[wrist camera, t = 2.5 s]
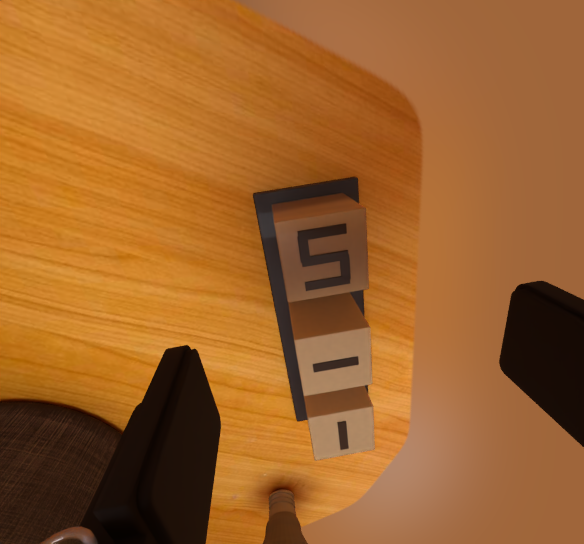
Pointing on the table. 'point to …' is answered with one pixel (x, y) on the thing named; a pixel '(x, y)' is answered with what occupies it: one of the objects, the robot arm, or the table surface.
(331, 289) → the letter s block
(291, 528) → the light bulb
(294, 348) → the word board
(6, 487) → the planter
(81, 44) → the table surface
